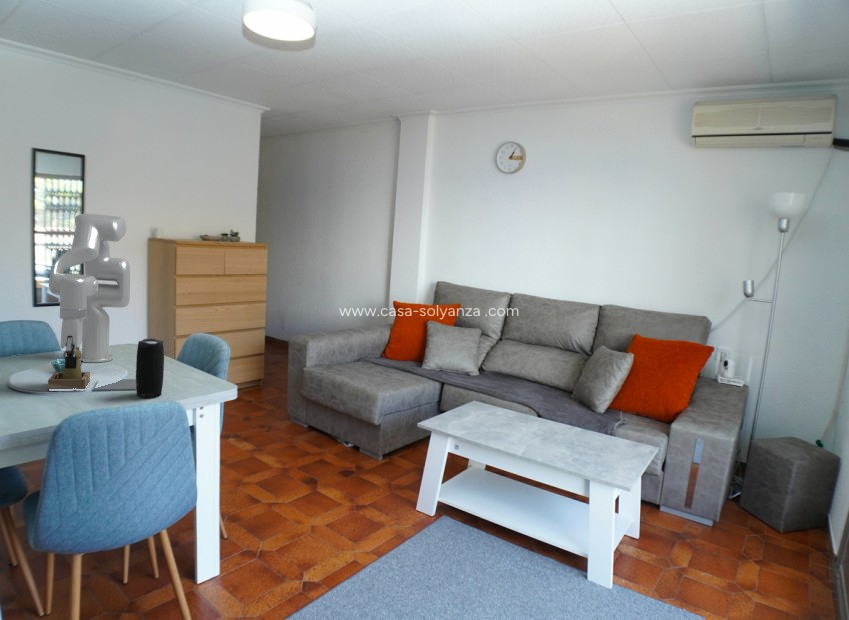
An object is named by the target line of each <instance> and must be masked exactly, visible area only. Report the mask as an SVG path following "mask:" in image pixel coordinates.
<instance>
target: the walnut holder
mask: <svg viewBox="0 0 849 620" xmlns="http://www.w3.org/2000/svg"><path fill="white" fill-rule="evenodd" d="M81 373H82V379H62V377H63V371H62V372H60V371H59V372H58V371H57V372H54V373H53V374H52V375H50V377H49V378H48V380H47V390H48V389H73V388H74V389H75V388H76V389H85V388H86V386H87V385H88V383H89V382H90V383H91V372H90V371H81ZM90 383H89V384H90ZM88 386H89V385H88ZM86 389H87V388H86Z"/></svg>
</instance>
